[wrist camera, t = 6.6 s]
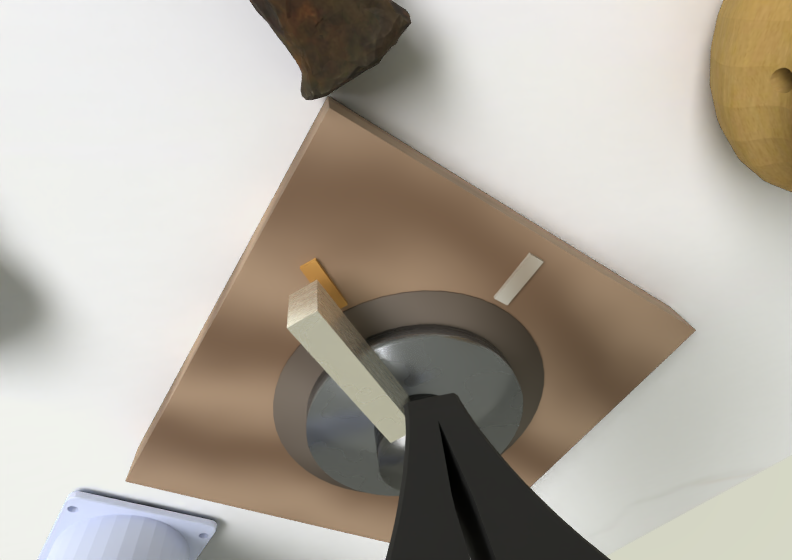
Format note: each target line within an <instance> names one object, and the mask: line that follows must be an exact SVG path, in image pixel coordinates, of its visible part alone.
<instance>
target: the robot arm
mask: <svg viewBox="0 0 792 560" xmlns="http://www.w3.org/2000/svg"><path fill="white" fill-rule="evenodd" d="M403 407H404V413H405V425H406V437H405V455H404V465H403V475H402V482H401V488H400V494H399V500H398V506H397V512H396V517H395V522H394V527H393V531H392V536H391V540H390V544H389V548H388V552H387V556H386V560H470V559H471V560H610V559H609V558H608V557H606V556H605V555H604V554H603V553H602V552H600V551H599V550H598V549H597V548H595V547H594V546H593V545H592V544H590V543H589V542H588V541H587V540H586V539H584V538H583V537H582V536H581V535H580V534H578V533H577V532H576V531H575V530H574V529H573V528H572V527H571V526H569V525H568V524H567V523H566V522H565V521H564V520H563V519H562V518H560V517H559V516H558V515H557V514H556V513H555V512H554V511H553V510H552V509H551V508H550V507H549V506H548V505H547V504H546V503H545V502H544V501H543V500H542V499H541V498H540V497H539V496H538V495H537V494H536V493H535V492H534V491H533V490H532V489H531V488H530V487H529V486H528V485H527V484H526V483H525V482H524V481H523V480H522V479H521V478H520V476H519V475H518V474H517V473H516V472H515V471H514V470H513V469H512V468H511V467H510V465H509V464H508V463H507V462H506V461H505V460H504V458H503V457H502V456H501V455H500V454H499V452H498V451H497V450H496V449H495V448H494V446H493V445H492V444H491V443H490V441H489V440H488V439H487V438H486V436H485V435H484V434H483V432H482V431H481V430H480V428H479V427H478V426H477V424H476V423H475V422H474V420H473V419H472V417H471V416H470V414H469V413H468V411H467V410H466V408H465V407H464V405H463V403H462V402H461V400H460V398H459V397H458V395H456V394H455V393H449V394H444V395H439V396H434V397H429V398H424V399H419V400H414V401H409V402H407V403H406V404H405V405H404V406H403ZM216 528H217V523H216V522H215V521H213V520H209V519H204V518H200V517H195V516H191V515H186V514H181V513H177V512H172V511H168V510H163V509H159V508H154V507H149V506H145V505H140V504H136V503H131V502H126V501H122V500H117V499H113V498H108V497H103V496H99V495H94V494H90V493H85V492H79V491H76V492H72V493H70V494H69V495H68V497H67V499H66V501H65V503H64V505H63V507H62V509H61V511H60V513H59V515H58V517H57V520H56V522H55V524H54V526H53V528H52V530H51V532H50V534H49V536H48V538H47V540H46V542H45V544H44V546H43V548H42V551H41V553H40V555H39V557H38V559H37V560H196V559H197V558H198V556H199V555H200V553H201V552H202V550H203V549H204V548H205V546H206V545H207V543H208V542H209V540H210V539H211V538H212V536H213V535H214V533H215V532H216ZM469 556H470V557H469Z"/></svg>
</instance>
